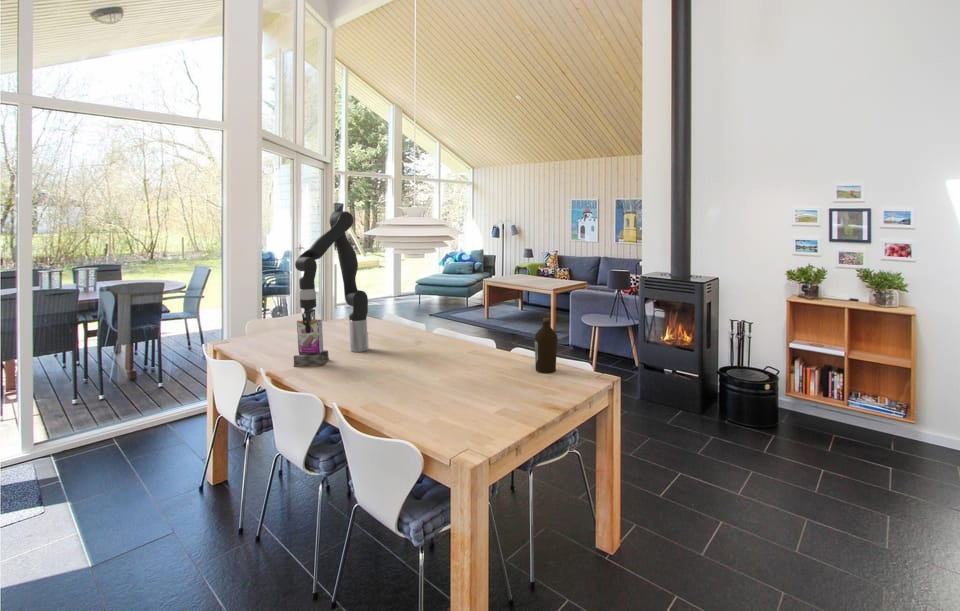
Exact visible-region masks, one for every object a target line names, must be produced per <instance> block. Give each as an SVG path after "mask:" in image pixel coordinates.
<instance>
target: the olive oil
mask: <svg viewBox="0 0 960 611" xmlns="http://www.w3.org/2000/svg"><path fill="white" fill-rule="evenodd" d="M558 342H559V340H558V334H557V333H556V331H554V329H553V328H552V327H551V319H550V318H549V317H543V319H542V326H541V327H540V328H539V329H538V330H537V332H535V336H534V358H535V366H534V367H535V372H537V373H540V374H553V373H555V372H556V370H557V355H558V353H557V352H558Z"/></svg>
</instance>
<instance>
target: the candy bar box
mask: <svg viewBox="0 0 960 611" xmlns="http://www.w3.org/2000/svg"><path fill="white" fill-rule="evenodd" d="M306 323H307V321H306ZM296 326H297V327H296V332H297V334H296V335H297V347H298V348H297V350H298V354H299V353H321V352H323V350H324V340H323V339H324V337H323V336H324V333H323V319H316V318H315V319H312V320H311V321H310V330H311V333H306V330H305V325H303V318H299V319H298V320H296Z"/></svg>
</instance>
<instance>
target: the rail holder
mask: <svg viewBox="0 0 960 611" xmlns="http://www.w3.org/2000/svg"><path fill="white" fill-rule="evenodd" d="M329 360H330V357H329V350H327V349H326V350H324V349H323V352H321V353H299V352H298V355H297V354H295V355H293V367H298V368H301V367H302V368H304V367H307V368H308V367H324V366H325V365H326V364H327V363H328V361H329ZM323 365H324V366H323Z"/></svg>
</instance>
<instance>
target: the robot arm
mask: <svg viewBox="0 0 960 611" xmlns="http://www.w3.org/2000/svg"><path fill="white" fill-rule="evenodd" d="M353 224H354V216H353V214H352V213H351V212H349V211H345V210H344V211H342V210H341V211H333V212H332V213H331V214H330V215H329V225H330V229H329V230H327V231H326V232H325V233H323V234H322V235H321V236H319V237H317V239H316V240H315V241H314V242H313V243H312V244H311V245H310V247H309V248H307V250H305V251H304V252H302V254H300V255H299V256H298V257H297V258H296V259H295V262H294V266H295V269H297V271H300V272H303V276H301V277H299V282H298V283H299V286H298V287H299V307H300V308H301V309H303V310H304V311H303V313H301V316H302V318H301V319H303V325H305V330H306V333H311V330H310V321H311V320H312V319H316V309H315V308H317V295H316V286H315V285H316V284H315V279H316V275H317V268H318V265H317V262H316V260H319V259H321V258H323V256H324V255H325V253H326V252H327V251H328V250H329V248H330V247H331V246H332V245H333V244H334V243H335V248H336V251H337V256H338V262H339V267H340V270H341V276H342V282H343V290H344V300H345V302H346V304H347V305H348V306H350V307H352V313H350V314H349V315H348V321H349V322H348V324H349V344H350V351H351V352H353V353H361V352H367V351H368V350H369V332H368V325H367V324H368V322H367V319H368V318H367V316H368V314H369V312H368V310H369V300H368V299H369V297H368V294H367V293H366V292H365V291H364V290H360V289H358V287H357V280H356V279H357V278H356V277H357V272H358V267H359V263H358V258H357V253H356V251H355V249H354V247H353V245H352V244H351V243H350V241H349V239H348V237H347V234H346V232H347V231H348V230H349V229H350V228H352V226H353ZM306 321H307V323H306Z"/></svg>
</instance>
